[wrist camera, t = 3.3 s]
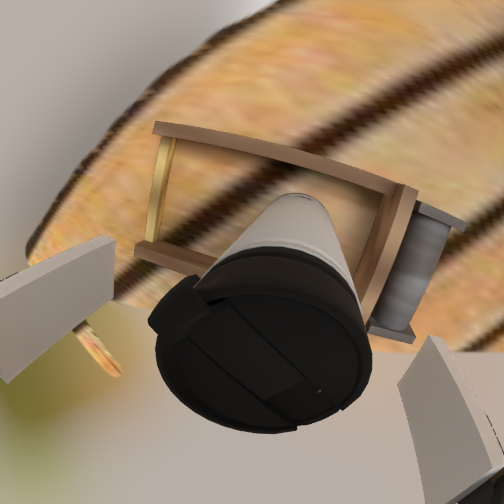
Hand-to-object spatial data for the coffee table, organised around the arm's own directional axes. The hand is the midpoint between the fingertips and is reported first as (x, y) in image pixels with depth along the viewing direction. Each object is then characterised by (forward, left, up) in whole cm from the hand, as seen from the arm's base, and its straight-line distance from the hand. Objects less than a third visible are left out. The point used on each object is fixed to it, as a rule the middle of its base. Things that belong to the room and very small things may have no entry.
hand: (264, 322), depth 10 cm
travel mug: (0, 0, -17) cm, 17 cm away
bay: (0, 0, -16) cm, 16 cm away
